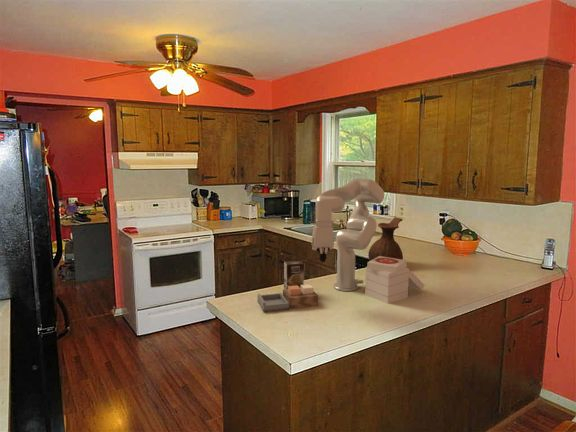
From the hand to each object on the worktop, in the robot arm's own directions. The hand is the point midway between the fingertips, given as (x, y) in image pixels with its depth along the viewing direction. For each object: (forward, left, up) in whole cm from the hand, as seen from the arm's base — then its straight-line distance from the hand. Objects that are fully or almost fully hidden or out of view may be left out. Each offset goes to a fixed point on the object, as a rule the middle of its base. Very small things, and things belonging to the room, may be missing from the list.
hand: (322, 261), depth 198 cm
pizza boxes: (-39, +1, -20) cm, 44 cm away
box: (+25, 0, -20) cm, 32 cm away
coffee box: (+10, -14, -20) cm, 27 cm away
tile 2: (+8, 0, -15) cm, 17 cm away
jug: (-60, -46, -20) cm, 78 cm away
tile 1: (+14, 0, -15) cm, 21 cm away
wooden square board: (+11, 0, -20) cm, 23 cm away
